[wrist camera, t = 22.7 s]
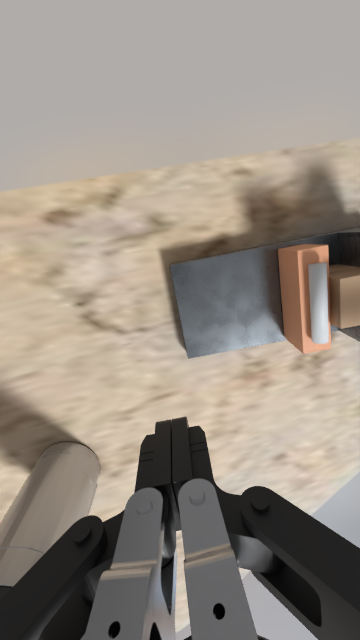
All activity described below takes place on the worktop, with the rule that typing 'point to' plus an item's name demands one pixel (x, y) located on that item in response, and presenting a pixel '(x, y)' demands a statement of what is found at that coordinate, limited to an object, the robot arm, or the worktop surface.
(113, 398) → the worktop surface
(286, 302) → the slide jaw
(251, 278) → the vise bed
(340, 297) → the walnut block
